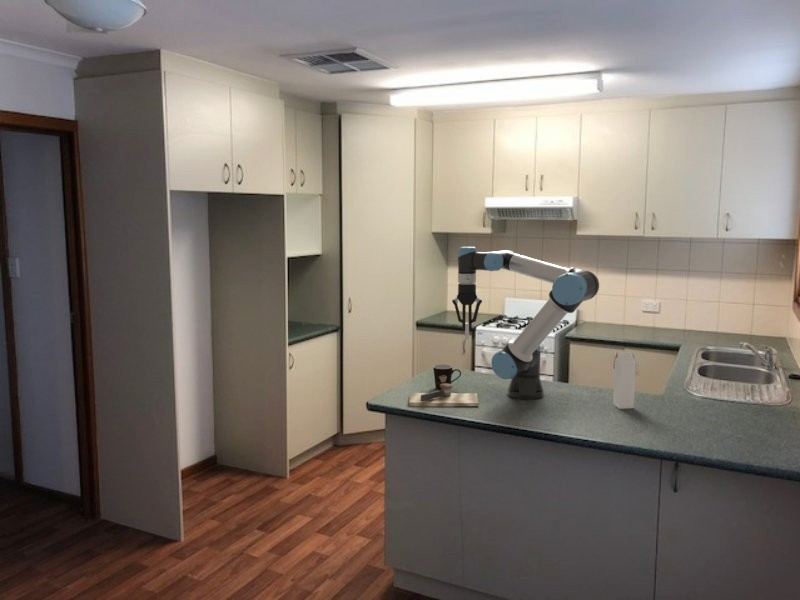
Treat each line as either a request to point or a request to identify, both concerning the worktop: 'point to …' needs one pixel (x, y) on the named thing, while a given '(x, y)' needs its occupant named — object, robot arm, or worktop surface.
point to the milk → (624, 381)
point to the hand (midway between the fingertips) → (466, 338)
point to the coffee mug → (443, 374)
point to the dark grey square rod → (438, 392)
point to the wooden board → (445, 400)
